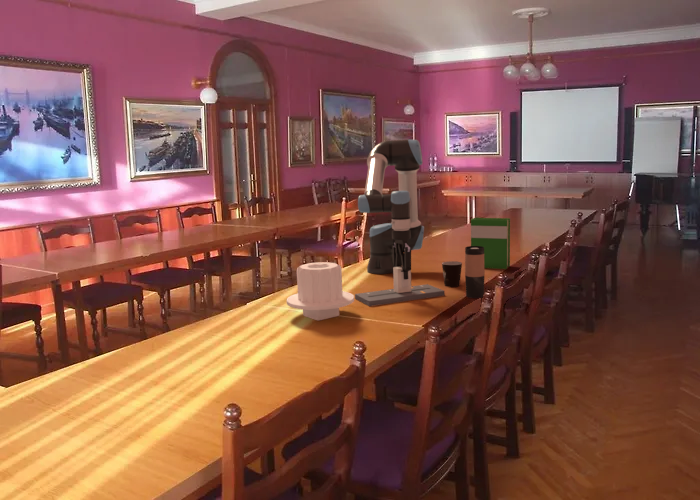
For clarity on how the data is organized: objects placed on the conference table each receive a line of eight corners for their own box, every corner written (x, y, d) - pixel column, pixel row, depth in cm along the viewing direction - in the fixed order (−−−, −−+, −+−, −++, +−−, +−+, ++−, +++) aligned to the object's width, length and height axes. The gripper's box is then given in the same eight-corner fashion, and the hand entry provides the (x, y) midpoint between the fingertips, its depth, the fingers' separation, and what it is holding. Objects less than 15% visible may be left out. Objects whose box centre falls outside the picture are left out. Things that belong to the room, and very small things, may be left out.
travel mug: (485, 294, 254) (485, 246, 251) (483, 298, 247) (483, 249, 244) (466, 293, 257) (466, 245, 253) (463, 297, 250) (463, 248, 246)
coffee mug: (461, 287, 267) (461, 265, 265) (441, 287, 268) (441, 265, 267) (462, 281, 278) (462, 260, 276) (443, 281, 280) (442, 260, 278)
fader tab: (393, 291, 255) (393, 267, 254) (406, 289, 258) (406, 265, 256) (398, 293, 252) (397, 268, 250) (411, 291, 254) (410, 267, 252)
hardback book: (509, 266, 308) (510, 218, 304) (506, 269, 302) (507, 220, 298) (474, 264, 316) (474, 217, 312) (471, 267, 309) (470, 219, 305)
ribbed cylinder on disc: (275, 315, 234) (272, 266, 230) (329, 303, 248) (326, 257, 245) (312, 329, 214) (309, 275, 211) (368, 315, 229) (366, 265, 226)
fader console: (355, 298, 255) (354, 293, 254) (427, 288, 267) (427, 283, 267) (369, 306, 242) (368, 300, 241) (444, 295, 255) (444, 290, 254)
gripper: (383, 227, 257) (385, 282, 261) (402, 232, 241) (403, 291, 245) (399, 226, 260) (401, 280, 263) (419, 230, 244) (420, 288, 248)
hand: (402, 285), depth 254 cm, fingers closed on fader tab, 4 cm apart
